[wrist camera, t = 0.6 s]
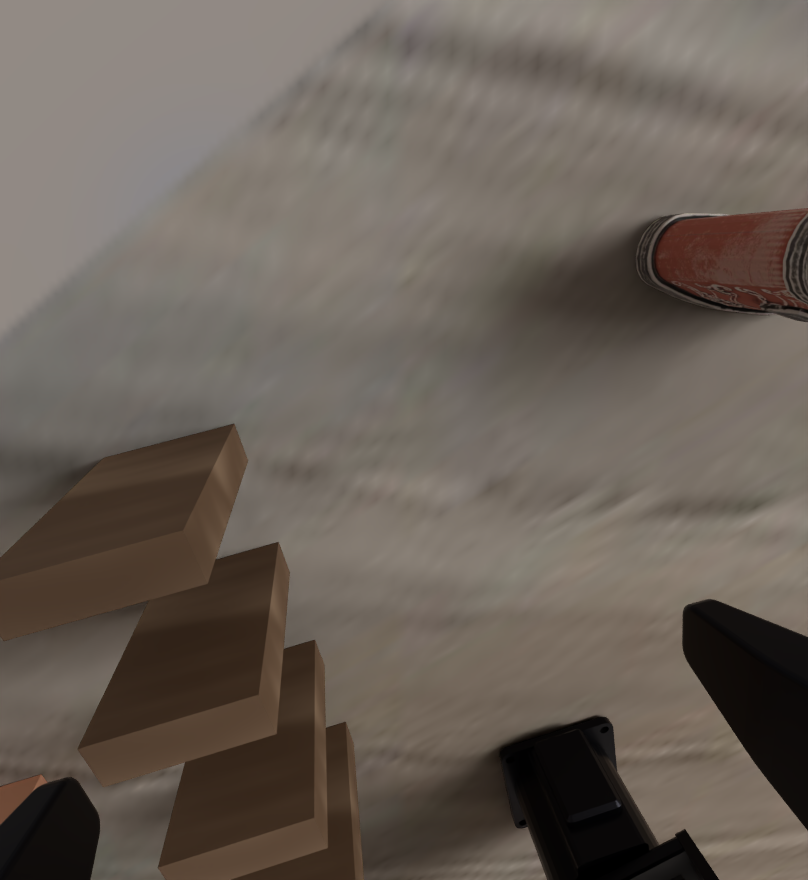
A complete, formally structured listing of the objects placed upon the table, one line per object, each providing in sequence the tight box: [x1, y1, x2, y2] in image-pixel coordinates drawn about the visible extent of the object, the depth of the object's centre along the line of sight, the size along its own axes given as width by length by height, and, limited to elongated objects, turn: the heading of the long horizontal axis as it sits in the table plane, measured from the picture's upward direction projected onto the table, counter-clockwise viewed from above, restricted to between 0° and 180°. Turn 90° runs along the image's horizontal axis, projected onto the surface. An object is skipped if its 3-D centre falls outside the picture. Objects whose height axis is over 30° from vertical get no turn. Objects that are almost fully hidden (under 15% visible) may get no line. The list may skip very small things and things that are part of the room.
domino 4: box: [231, 722, 364, 880], centre depth 22 cm, size 2×5×8 cm, turn 103°
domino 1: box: [0, 424, 248, 641], centre depth 16 cm, size 2×5×8 cm, turn 102°
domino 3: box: [158, 640, 328, 880], centre depth 20 cm, size 2×5×8 cm, turn 103°
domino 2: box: [78, 542, 290, 787], centre depth 18 cm, size 2×5×8 cm, turn 103°
